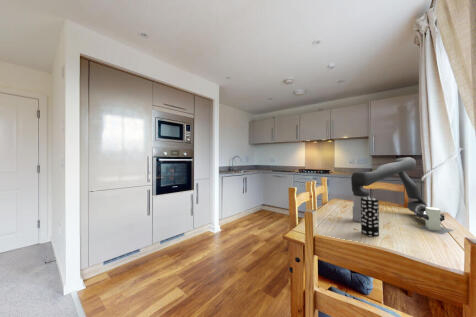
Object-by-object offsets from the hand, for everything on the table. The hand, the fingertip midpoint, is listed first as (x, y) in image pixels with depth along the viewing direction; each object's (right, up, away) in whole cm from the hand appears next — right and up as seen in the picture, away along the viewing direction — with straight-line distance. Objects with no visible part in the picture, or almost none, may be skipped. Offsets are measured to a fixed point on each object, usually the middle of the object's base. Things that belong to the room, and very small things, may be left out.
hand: (434, 219), depth 111 cm
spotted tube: (-39, -8, -2) cm, 40 cm away
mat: (+3, -7, +2) cm, 8 cm away
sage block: (+1, -6, +2) cm, 7 cm away
